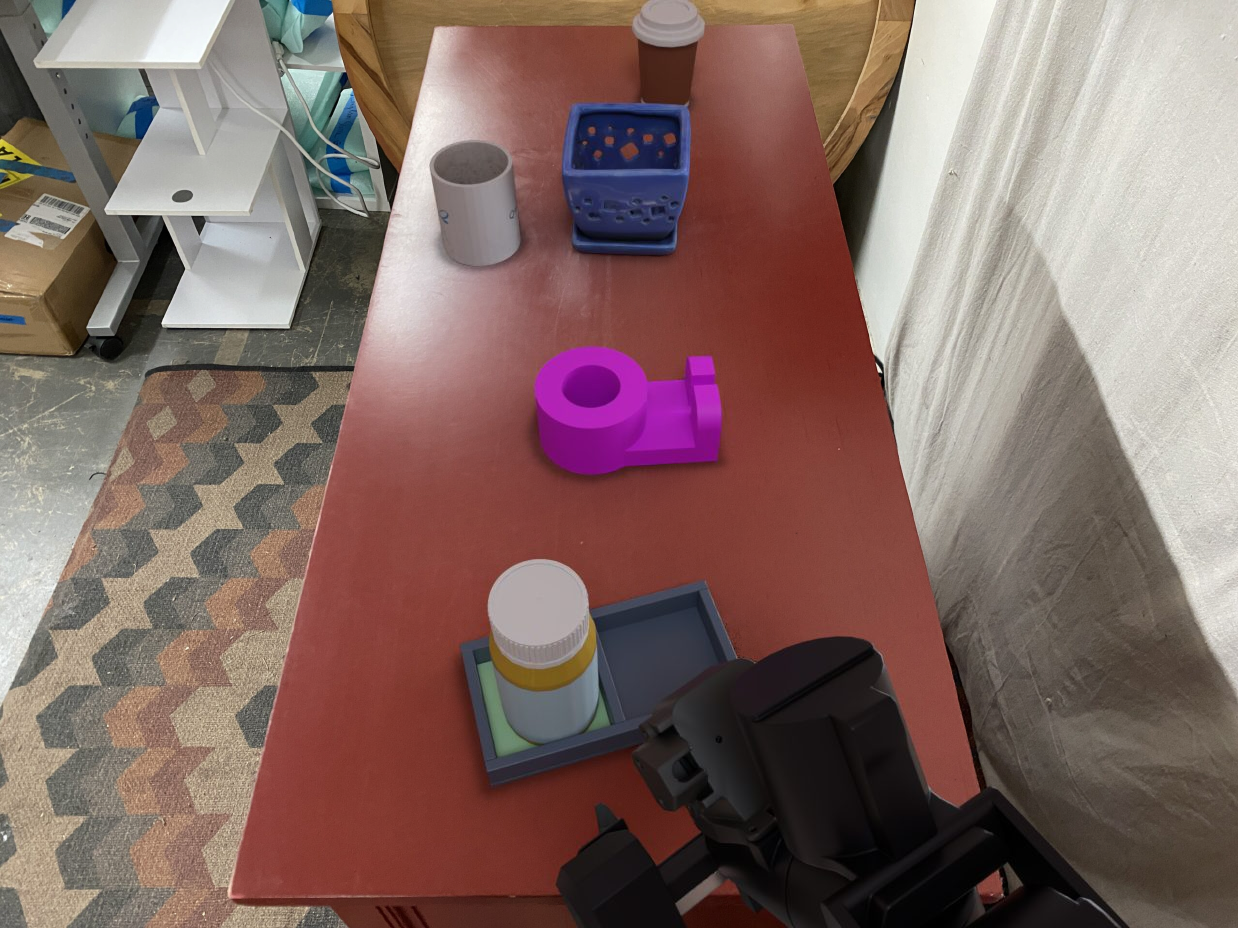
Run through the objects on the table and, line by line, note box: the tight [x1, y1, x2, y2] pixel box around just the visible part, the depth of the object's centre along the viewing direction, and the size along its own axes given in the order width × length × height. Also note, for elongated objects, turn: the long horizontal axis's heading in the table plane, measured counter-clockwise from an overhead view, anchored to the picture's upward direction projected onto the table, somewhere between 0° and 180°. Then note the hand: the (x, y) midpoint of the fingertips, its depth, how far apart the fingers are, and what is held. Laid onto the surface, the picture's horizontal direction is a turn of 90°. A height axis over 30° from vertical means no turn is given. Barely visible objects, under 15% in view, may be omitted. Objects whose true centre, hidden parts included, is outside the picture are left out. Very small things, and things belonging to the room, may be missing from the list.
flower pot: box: [561, 102, 692, 256], centre depth 100 cm, size 13×13×12 cm
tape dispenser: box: [534, 346, 723, 476], centre depth 83 cm, size 16×10×6 cm, turn 94°
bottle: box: [487, 558, 599, 746], centre depth 62 cm, size 7×7×15 cm
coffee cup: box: [631, 0, 706, 108], centre depth 117 cm, size 9×9×12 cm
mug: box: [428, 139, 522, 267], centre depth 100 cm, size 12×9×10 cm
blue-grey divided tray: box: [459, 579, 738, 788], centre depth 68 cm, size 10×19×3 cm, turn 107°
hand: (667, 762), depth 52 cm, fingers open, 9 cm apart
